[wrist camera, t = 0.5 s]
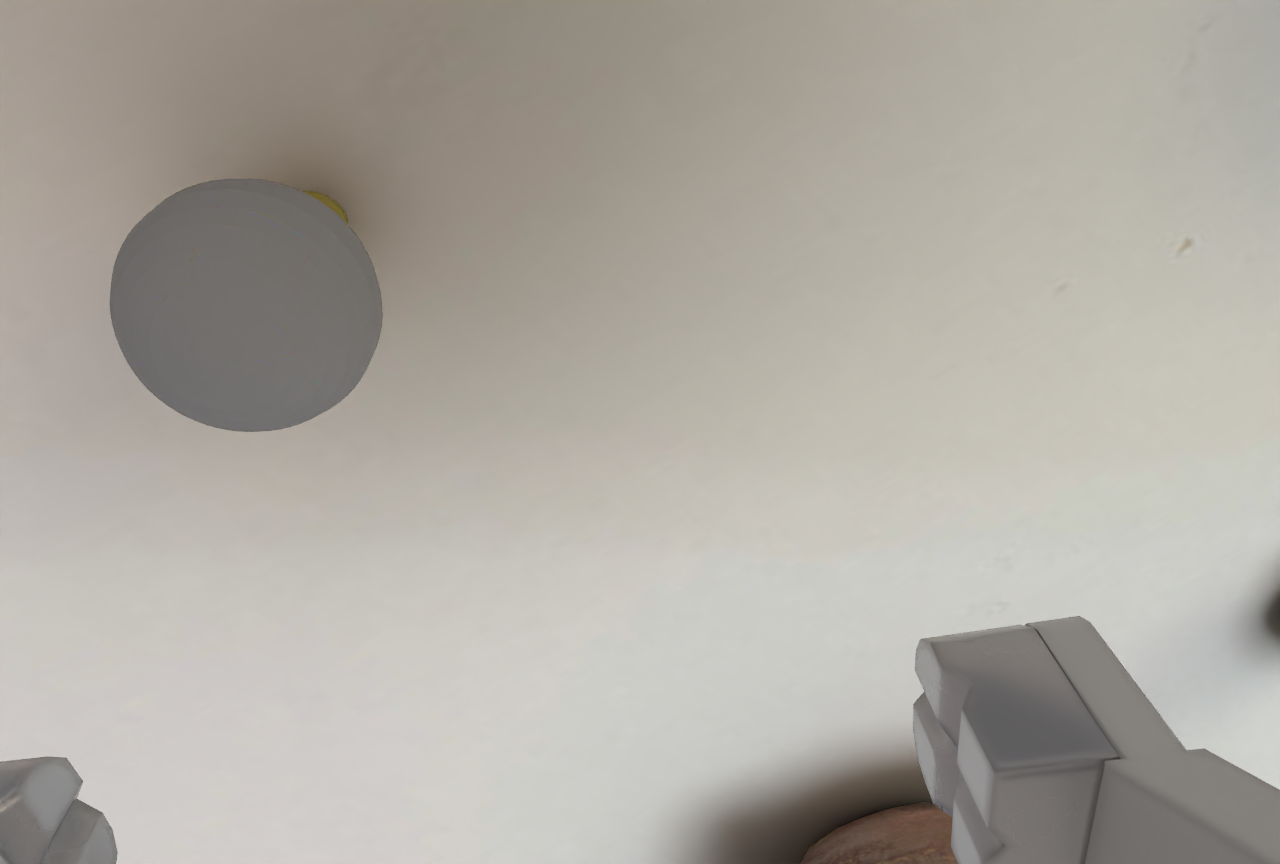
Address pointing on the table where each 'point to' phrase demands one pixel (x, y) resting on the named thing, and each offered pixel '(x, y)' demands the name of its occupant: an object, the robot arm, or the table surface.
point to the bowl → (889, 839)
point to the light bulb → (246, 304)
